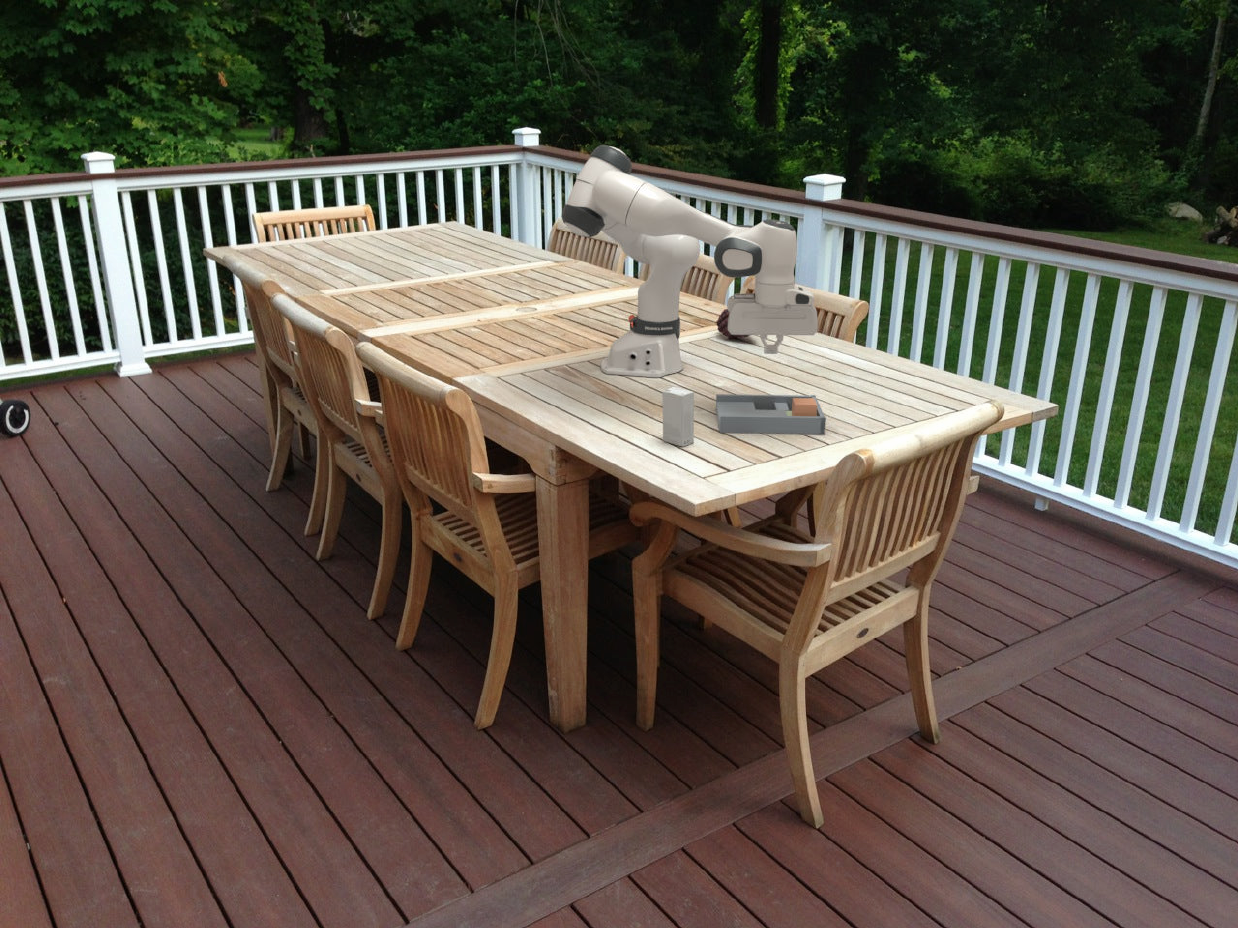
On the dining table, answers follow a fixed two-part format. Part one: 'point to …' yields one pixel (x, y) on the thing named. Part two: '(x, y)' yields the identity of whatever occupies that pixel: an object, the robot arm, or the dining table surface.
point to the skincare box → (678, 416)
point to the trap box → (765, 415)
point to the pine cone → (726, 325)
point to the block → (804, 407)
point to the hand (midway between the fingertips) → (770, 353)
